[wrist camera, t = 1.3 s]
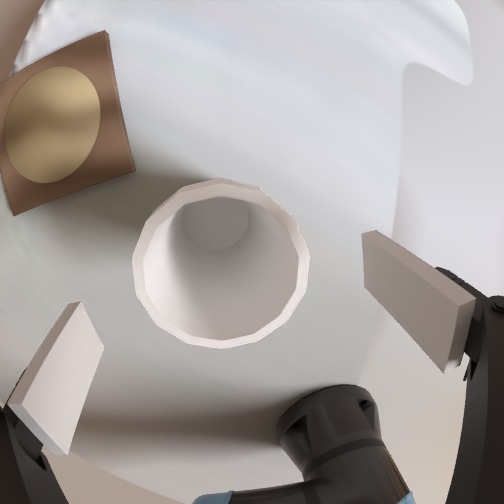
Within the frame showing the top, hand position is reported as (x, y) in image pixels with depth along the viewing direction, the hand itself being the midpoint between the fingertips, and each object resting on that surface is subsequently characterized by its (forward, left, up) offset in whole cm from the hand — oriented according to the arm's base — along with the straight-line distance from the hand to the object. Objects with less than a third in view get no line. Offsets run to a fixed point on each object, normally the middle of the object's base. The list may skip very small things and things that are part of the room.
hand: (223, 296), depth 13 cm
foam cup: (0, 0, -16) cm, 16 cm away
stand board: (+13, +13, -16) cm, 24 cm away
